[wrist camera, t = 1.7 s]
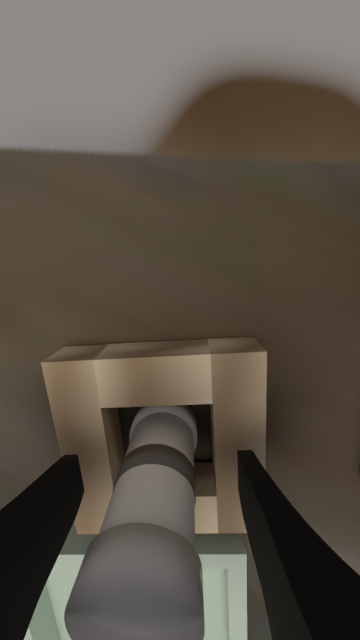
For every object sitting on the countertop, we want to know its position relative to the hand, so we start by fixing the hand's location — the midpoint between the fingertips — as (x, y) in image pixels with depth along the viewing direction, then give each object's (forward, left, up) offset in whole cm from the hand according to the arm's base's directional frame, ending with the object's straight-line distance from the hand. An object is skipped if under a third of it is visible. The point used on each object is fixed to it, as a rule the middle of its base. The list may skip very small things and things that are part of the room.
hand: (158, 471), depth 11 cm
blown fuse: (0, 0, -3) cm, 3 cm away
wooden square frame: (0, 0, -3) cm, 3 cm away
